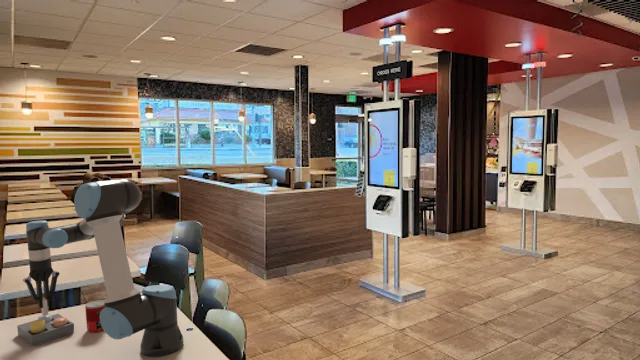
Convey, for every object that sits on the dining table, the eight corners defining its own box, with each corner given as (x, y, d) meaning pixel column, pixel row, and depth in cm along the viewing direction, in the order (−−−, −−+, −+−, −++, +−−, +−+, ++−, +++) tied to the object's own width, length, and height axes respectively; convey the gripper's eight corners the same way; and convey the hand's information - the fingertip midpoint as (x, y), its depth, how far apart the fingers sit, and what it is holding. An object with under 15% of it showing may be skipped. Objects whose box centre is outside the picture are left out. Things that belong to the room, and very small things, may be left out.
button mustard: (47, 330, 173) (46, 321, 173) (33, 334, 170) (32, 325, 169) (42, 326, 176) (42, 318, 176) (29, 331, 173) (28, 322, 172)
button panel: (74, 332, 180) (73, 323, 179) (32, 346, 168) (31, 336, 168) (58, 322, 190) (57, 313, 190) (18, 335, 179) (17, 325, 178)
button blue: (54, 323, 184) (53, 315, 183) (41, 327, 180) (40, 319, 179) (49, 321, 187) (49, 313, 186) (37, 324, 183) (36, 316, 183)
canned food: (99, 333, 178) (98, 307, 177) (82, 332, 180) (80, 306, 179) (112, 325, 186) (110, 300, 185) (95, 324, 187) (93, 299, 186)
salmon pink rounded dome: (69, 327, 180) (68, 319, 179) (56, 331, 176) (55, 323, 176) (64, 324, 183) (64, 316, 182) (52, 328, 179) (51, 320, 179)
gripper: (54, 253, 188) (58, 307, 190) (18, 260, 178) (23, 317, 180) (61, 256, 183) (65, 311, 185) (24, 263, 173) (30, 322, 175)
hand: (45, 314), depth 183 cm, fingers closed
